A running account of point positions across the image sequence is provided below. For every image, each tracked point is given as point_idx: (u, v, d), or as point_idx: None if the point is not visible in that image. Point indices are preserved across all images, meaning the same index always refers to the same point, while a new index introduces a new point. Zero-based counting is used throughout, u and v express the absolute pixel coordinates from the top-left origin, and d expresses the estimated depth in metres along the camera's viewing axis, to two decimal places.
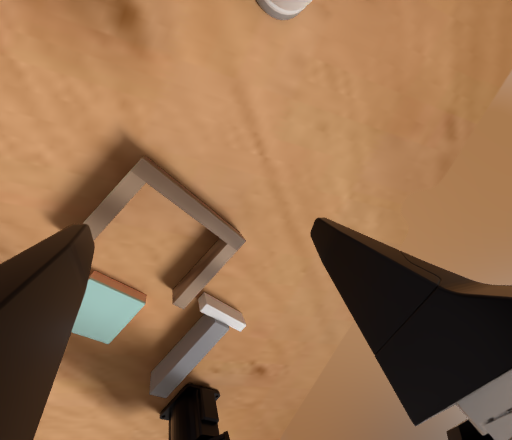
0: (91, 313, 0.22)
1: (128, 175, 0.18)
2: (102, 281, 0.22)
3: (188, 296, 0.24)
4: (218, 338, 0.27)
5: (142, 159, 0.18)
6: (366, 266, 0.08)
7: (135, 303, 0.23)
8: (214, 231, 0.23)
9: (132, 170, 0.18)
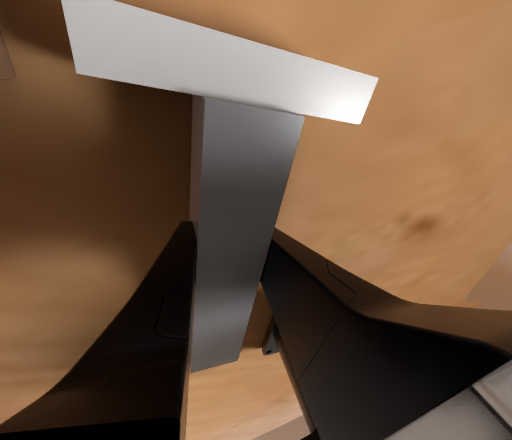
0: None
1: None
2: None
3: None
4: (278, 182, 0.06)
5: None
6: (288, 277, 0.07)
7: None
8: None
9: None
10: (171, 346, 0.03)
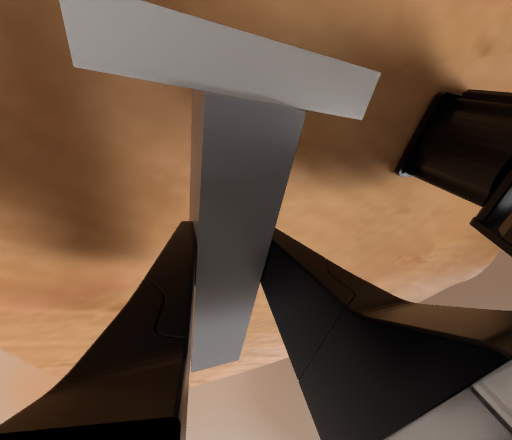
0: None
1: None
2: None
3: None
4: (279, 178, 0.06)
5: None
6: (287, 277, 0.07)
7: None
8: None
9: None
10: (171, 346, 0.03)
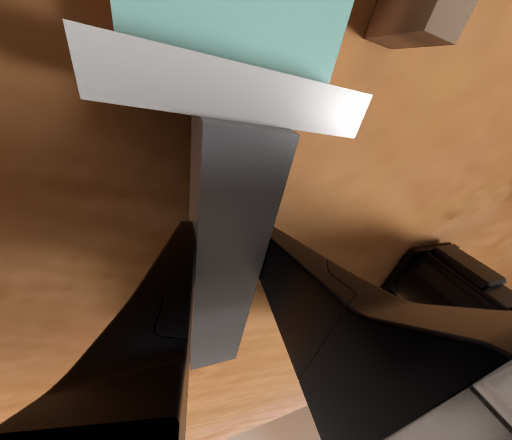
0: None
1: None
2: None
3: None
4: (274, 195, 0.06)
5: None
6: (288, 277, 0.07)
7: None
8: None
9: None
10: (171, 346, 0.03)
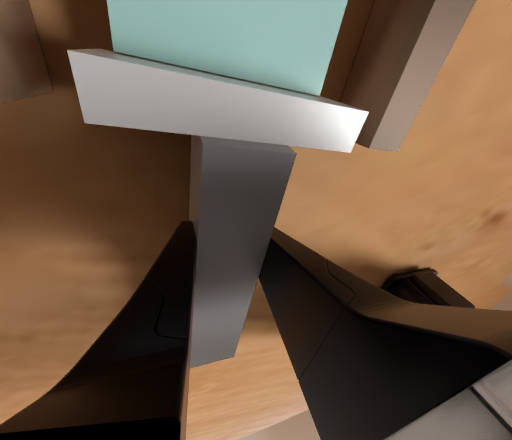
0: None
1: None
2: None
3: (408, 103, 0.07)
4: (271, 208, 0.07)
5: None
6: (287, 277, 0.07)
7: None
8: None
9: None
10: (171, 345, 0.03)
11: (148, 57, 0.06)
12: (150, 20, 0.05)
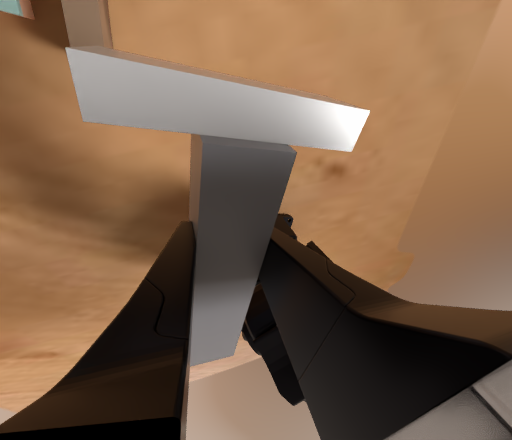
0: None
1: None
2: None
3: (84, 23, 0.11)
4: (271, 208, 0.07)
5: None
6: (287, 277, 0.07)
7: None
8: None
9: None
10: (171, 345, 0.03)
11: None
12: None
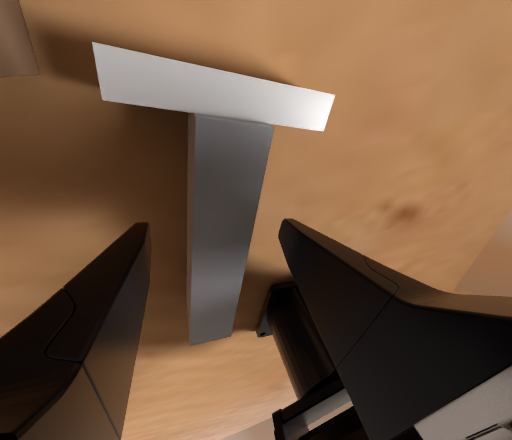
0: None
1: None
2: None
3: None
4: (256, 178, 0.08)
5: None
6: (326, 271, 0.07)
7: None
8: None
9: None
10: (55, 370, 0.03)
11: None
12: None
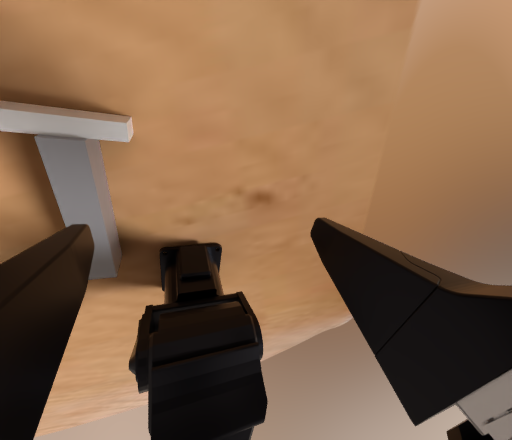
0: None
1: None
2: None
3: None
4: (86, 168, 0.14)
5: None
6: (366, 266, 0.08)
7: None
8: None
9: None
10: None
11: None
12: None
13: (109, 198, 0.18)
